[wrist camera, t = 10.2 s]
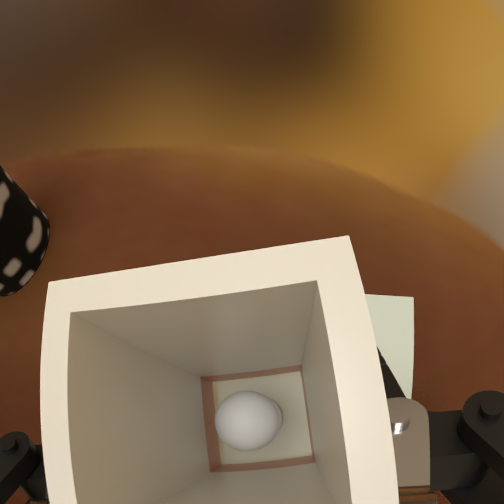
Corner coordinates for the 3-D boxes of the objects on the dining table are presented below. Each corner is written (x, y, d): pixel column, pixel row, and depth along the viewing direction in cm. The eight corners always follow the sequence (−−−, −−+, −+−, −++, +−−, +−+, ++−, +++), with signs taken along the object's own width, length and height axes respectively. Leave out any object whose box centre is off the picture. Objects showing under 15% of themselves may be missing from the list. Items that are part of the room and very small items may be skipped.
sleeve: (209, 477, 11) (63, 560, 2) (198, 369, 14) (48, 281, 5) (327, 465, 11) (400, 568, 2) (312, 355, 13) (348, 235, 5)
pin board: (121, 493, 13) (34, 518, 6) (162, 284, 19) (100, 213, 12) (378, 534, 11) (428, 594, 4) (404, 306, 16) (463, 239, 10)
